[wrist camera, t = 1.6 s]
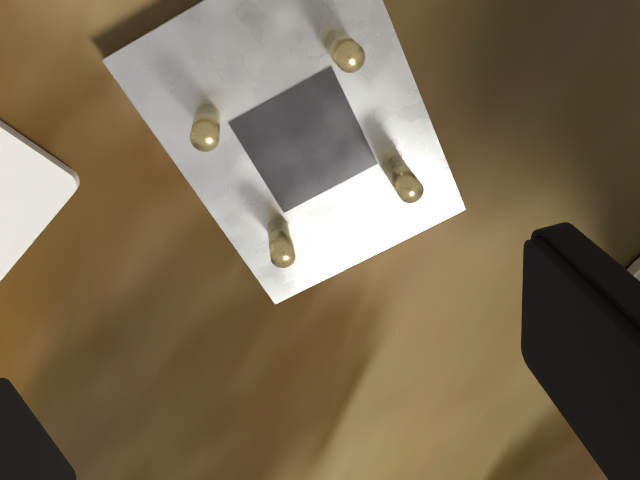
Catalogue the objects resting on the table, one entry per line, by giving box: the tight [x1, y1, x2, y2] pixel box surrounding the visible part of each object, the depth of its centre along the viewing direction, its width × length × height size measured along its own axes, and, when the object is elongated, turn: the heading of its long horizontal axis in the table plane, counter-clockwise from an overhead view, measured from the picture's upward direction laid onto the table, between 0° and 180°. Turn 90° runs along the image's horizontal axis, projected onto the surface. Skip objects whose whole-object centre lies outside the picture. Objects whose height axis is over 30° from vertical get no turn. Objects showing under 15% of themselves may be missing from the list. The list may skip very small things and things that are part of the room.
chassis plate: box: [102, 0, 465, 304], centre depth 29 cm, size 14×18×4 cm
